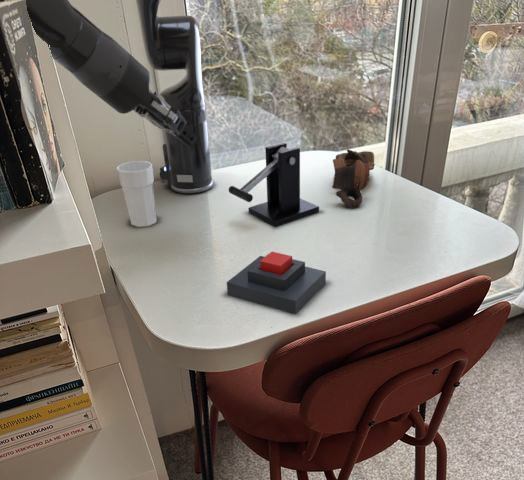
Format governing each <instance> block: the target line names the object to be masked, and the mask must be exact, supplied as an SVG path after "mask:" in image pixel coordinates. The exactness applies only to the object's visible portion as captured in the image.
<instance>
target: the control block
mask: <svg viewBox="0 0 524 480" xmlns="http://www.w3.org/2000/svg"><path fill="white" fill-rule="evenodd" d="M267 255H268V254H266V255H265V256H263V255H260V256H258V257H257V258H256V259H254V260H253V261H252V262H250V263H249V264H248V265H247V266H246V267H244V268H243V269H242V270H240V271H239V272H238V273H236V274H234V276H232V277H231V278H230V279H229V280H228V281H226V289H227V290H226V291H227V295H228V296H232V297H235V298H237V299H242V300H246V301H248V302H253V303H256V304H259V305H263V306H267V307H270V308H274V309H278V310H282V311H285V312H288V313H291V314H297V313H298V312H299V311H300V310H301V309H302V308H303V307H304V306H305V305H306V304H307V303H308V302H309V301H310V300H311V299H312V298H313V297H314V296H315V295H316V294H317V293H318V292H319V291H320V290H321V289H322V288H323V287H324V286H325V285H326V280H327V271H326V270H321V269H317V268H314V267H309V266H306V261H302V260H298V259H294V258H292V267H290V268H289V269H288V270H287V271H286V272H285V273H284V274H282V275H279V274H275V273H271V272H267V271H263V270H261V269H260V261H261V260H262V259H263V258H265V257H266V256H267Z"/></svg>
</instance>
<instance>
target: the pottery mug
mask: <svg viewBox="0 0 524 480" xmlns="http://www.w3.org/2000/svg"><path fill="white" fill-rule="evenodd" d="M346 153H347V155H346V156H345V160H347V159H357V158H359V159H360V160H361V161H360V160H357V161H356V162H355V164H351V165H346V164H345V162H344V159H343V158H338V159H336V158H333V159H332V163H333V168H334V176H333V182H332V186H331V188H332V189H333V190H337V191H336V192H335V196H336V197H338V198H339V199H340V201H341V202H342V203H343V204H344V205H346V206H347V207H350V208H352V209H354V208H355V207H359V206H360V205H361V204H362V202H363V194H362V192H361V191H362V190H364V189H365V188H366V187H367V186H368V184H369V180H370V171H371V170H369V164H368V160H367V158H366V156H365V155H364V154H363V153H358V151H356V150H354V151H353V150H351V149H348V148H347V149H346ZM352 198H353V199H352Z"/></svg>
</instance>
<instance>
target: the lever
mask: <svg viewBox="0 0 524 480" xmlns="http://www.w3.org/2000/svg"><path fill="white" fill-rule="evenodd" d="M288 149H289V148H288V147H287V148H285V147H281V148H280V149H279V150H278V151H276V152H275V153H274V154H273V155H272V157H273V159H274V160H273V161H272V162H271V163H270V164H269V165H268V166H266V165H265V167H264V168H263V169H262V170H260V171H259V172H258V173H257V174H256V175H255V176H254V177H252V178H251V179H250V180H249V181H247V182H246V183H245V184H244V185H243V186H241V188H239V187H236V186H234V185H230V186H229V187H228V193H229V194H231V195H232V196H235V197H237V198H239V199H240V200H242V201H245V202H247V203H251V202H252V201H253V199H254V196H253V195H252V194H250V191H252V190H253V189H254V188H255V187H256V186H258V185H259V183H261V182H262V181H263V180H264V179H266V176H268V175H269V174H270V173H271V172H272V171H273V170H275V169H276V168H277V167H278V152H280V151H284V150H288Z"/></svg>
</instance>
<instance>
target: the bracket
mask: <svg viewBox="0 0 524 480" xmlns="http://www.w3.org/2000/svg"><path fill="white" fill-rule="evenodd" d="M281 147H285V148H288V144H287V142H286V143H285V142H280V143H277V144H273V145H270V146H265V150H264V151H265V167H266V166H268V165H269V164H270V163H271V162H272V161H273V160H274V159H273V157H272V155H273V154H274V153H275V152H276V151H278V150H279V149H280V148H281ZM265 179H266V200H267V201H265V202H262V203H259V204H256V205H253V206H252V205H251V206H249V207H248V214H249V215H251V216H253V217H255V218H257V219H259V220H261V221H263V222H265V223H267V224H268V225H271V226H272V227H274V228H276V227H280V226H282V225H283V226H284V225H285V224H288V223H291V222H294V221H297V220H301V219H302V218H307V217H309V216H311V215H315V214H318V213H319V212H320V206H319V205H316V204H314V203H312V202H309V201H307V200H305V199H303V198H301V148H300V147H297V146H296V147H292V148H288V150H284V151H280V152H278V167H277V168H276V169H275V170H273V171H272V172H271V173H270V174H269V175H268V176H266V177H265Z"/></svg>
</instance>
